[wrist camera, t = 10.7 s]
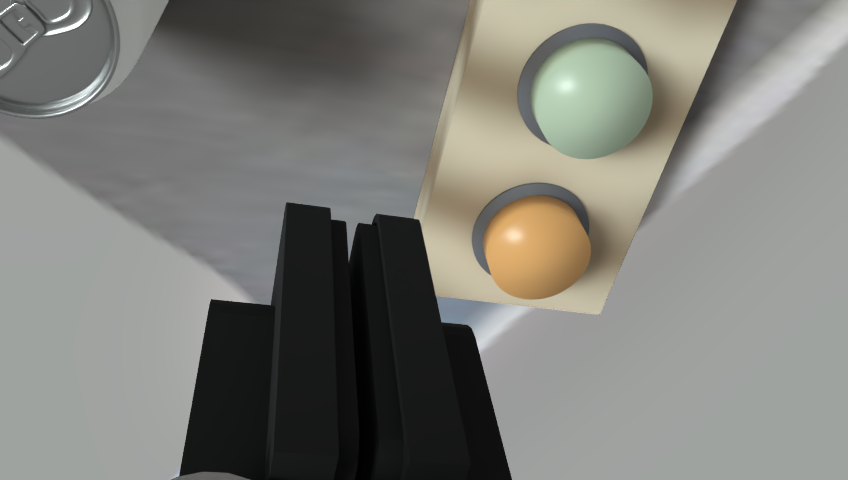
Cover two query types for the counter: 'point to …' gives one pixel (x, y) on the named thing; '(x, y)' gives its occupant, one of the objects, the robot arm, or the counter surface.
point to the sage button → (590, 98)
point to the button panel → (529, 149)
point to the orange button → (536, 247)
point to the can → (69, 51)
